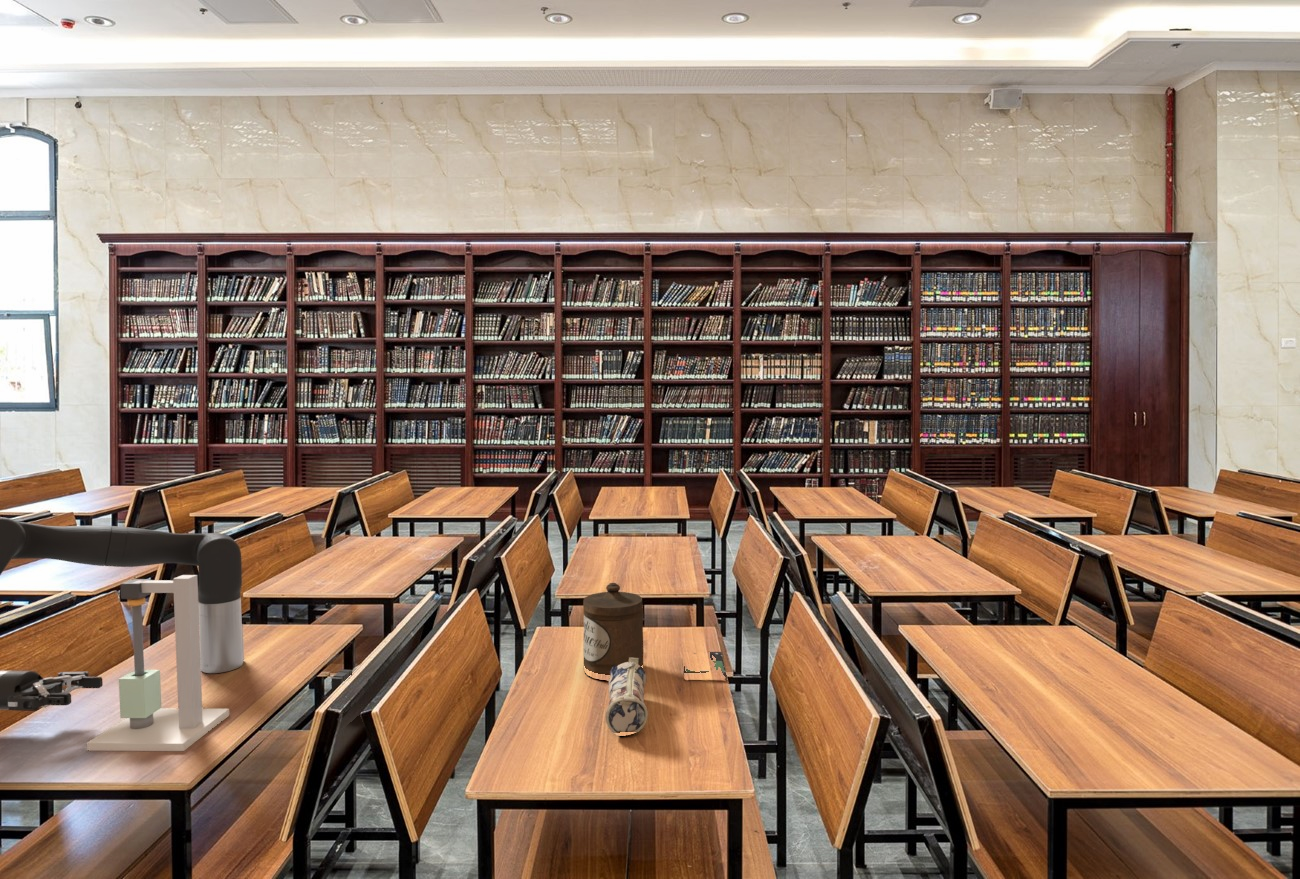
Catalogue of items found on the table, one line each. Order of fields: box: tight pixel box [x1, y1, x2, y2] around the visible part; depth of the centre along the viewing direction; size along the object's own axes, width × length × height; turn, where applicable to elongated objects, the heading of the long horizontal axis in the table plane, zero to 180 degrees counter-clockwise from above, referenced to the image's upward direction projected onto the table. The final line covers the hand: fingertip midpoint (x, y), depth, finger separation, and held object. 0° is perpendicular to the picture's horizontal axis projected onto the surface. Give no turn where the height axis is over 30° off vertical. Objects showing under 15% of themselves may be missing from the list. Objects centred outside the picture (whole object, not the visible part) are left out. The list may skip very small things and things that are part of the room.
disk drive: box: [683, 651, 727, 678], centre depth 191 cm, size 10×3×15 cm
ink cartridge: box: [330, 669, 353, 692], centre depth 167 cm, size 5×2×8 cm, turn 173°
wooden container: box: [582, 582, 644, 675], centre depth 190 cm, size 15×15×22 cm
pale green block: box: [118, 669, 163, 719], centre depth 155 cm, size 5×5×8 cm
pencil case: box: [604, 658, 649, 734], centre depth 163 cm, size 22×8×10 cm, turn 1°
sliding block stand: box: [86, 574, 230, 752], centre depth 155 cm, size 16×19×32 cm
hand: (86, 690), depth 155 cm, fingers open, 8 cm apart
